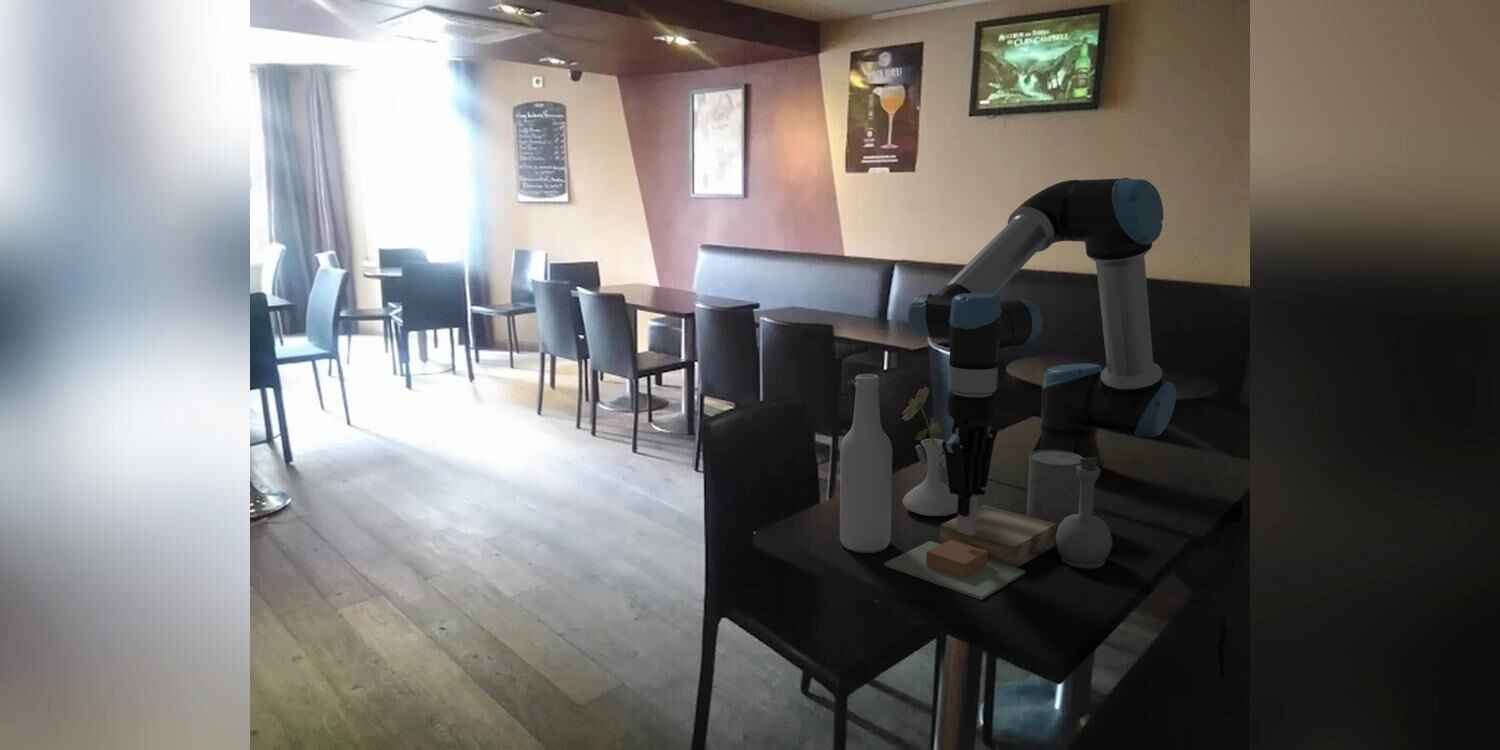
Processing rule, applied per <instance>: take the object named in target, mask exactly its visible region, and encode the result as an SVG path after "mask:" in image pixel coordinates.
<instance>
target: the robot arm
mask: <svg viewBox="0 0 1500 750" xmlns="http://www.w3.org/2000/svg"><path fill="white" fill-rule="evenodd" d="M1162 202H1163V201H1162V198H1161V194H1160V193H1159V191H1158V189H1157V188H1156V186H1154V185H1153V184H1152V183H1151V182H1150V181H1148V180H1147V179H1142V178H1130V177H1129V178H1128V177H1121V178H1101V179H1097V178H1096V179H1068V180H1065V181H1060V182H1057V183H1055V184H1053V185H1051V186H1048V187H1045V188H1044V189H1042V190H1040V191H1039V192H1037V193H1036V194H1034V195H1032V196H1031V197H1029V198H1028V199H1026V200H1025V201H1023V203H1022V204H1020V205H1019V206H1018V207H1016V209H1014V211H1013V212H1012V213H1011V214H1010V215H1009V217H1008V220H1007V225H1006V226H1005V227H1004V228H1003V229H1001V231H999V232H998V233H997V235H995V237H994V238H992V239H991V240H990V241H989V242H988V243H987V244H986V246H984V247H983V248H982V249H981V250H980V251H979V252H978V253H977V254H976V255H975V256H974V257H973V258H971V260H970V261H969V262H968V263H967V264H966V265H965V266H963V268H962V269H960V271H958V273H957V274H956V275H955V276H953V277H952V278H951V280H949V281H948V282H947V283H946V284H945V285H944V286H943V287H942V288H941V289H940V290H939V291H938V292H937V293H935V294H933V293H927V294H919V295H916V296H915V297H914V298H913V299H912V301H911V302H910V305H909V307H908V312H907V321H908V323H909V328H910V330H911V331H912V332H913V333H914V334H915V335H917V336H921V337H925V338H930V339H932V340H935V339H936V340H944V341H949V359H948V382H947V383H948V384H947V386H948V387H947V388H948V389H949V390H950V391H949V392H948V393H947V404H946V405H947V407H946V412H947V414H948V416H949V417H951V418H952V419H953V423H952V428H951V436H950V438H949V439H948V440H947V439H942V440H943V442H942V447H943V452H944V456H945V463H946V465H945V466H947V480H948V481H947V482H948V487H949V491H950V493H951V494H955V495H957V496H958V512H957V517H958V520H957V532H960V533H964V534H967V535H970V536H972V535H974V534H976V532H977V508H978V507H979V505H978V504H979V495H981V496H984V495H985V493H986V490H985V489H986V487H987V485H988V480H989V474H990V468H991V461H992V455H993V450H994V449H993V448H994V443H995V440H996V439H997V438H996V437H997V436H998V435H997V434H998V428H994V427H992V426H990V419H993V418H995V416H996V414H997V395H996V394H995V393H994V392H996V391H998V371H999V369H998V367H999V365H998V364H999V351H1000V350H1005V349H1009V348H1015V347H1021V346H1022V347H1023V346H1024V345H1026V344H1028V343H1031V342H1033V341H1035V340H1036V339H1037V338H1038V337H1039V335H1040V333H1041V331H1042V329H1043V325H1044V324H1043V315H1042V312H1041V311H1040V309H1039V307H1038V306H1037V305H1036V304H1035V303H1034V302H1032V301H1031V300H1028V299H1027V300H1026V299H1016V298H1015V299H1013V298H1012V299H1011V300H1001V299H1000V297H999V296H998V295H997V293H999V292H1000V291H1001V289H1003V287H1004V286H1005V285H1006V284H1007V283H1008V282H1009V281H1010V280H1011V279H1012V278H1013V277H1014V276H1015V275H1016V274H1017V273H1018V272H1019V271H1020V270H1021V269H1022V268H1023V267H1024V265H1026V264H1027V263H1028V262H1029V261H1030V260H1031V259H1032V257H1033V256H1035V255H1036V254H1037V253H1039V252H1043V251H1045V250H1048V249H1049V248H1050V246H1051V245H1053V244H1055V243H1059V242H1083V243H1084V244H1085V251H1086V252H1085V253H1086V256H1087V258H1089V259H1091V260H1092V261H1094V262H1095V266H1096V276H1097V286H1098V295H1099V305H1100V313H1101V314H1100V315H1101V322H1102V323H1101V324H1102V331H1103V341H1104V350H1105V357H1106V358H1105V359H1106V360H1105V361H1106V367H1104V369H1103V368H1102V366H1101V365H1100V364H1098V363H1097V364H1096V363H1069V364H1068V363H1067V364H1062V365H1061V364H1059V365H1055V366H1051V367H1049V368H1047V369H1046V371H1045V372H1044V374H1043V382H1042V386H1041V389H1042V394H1041V395H1042V398H1041V419H1040V433H1039V435H1038V438H1037V440H1036V442H1035V446H1034V447H1033V450H1032V452H1034V451H1038V450H1061V451H1067V452H1072V453H1075V454H1078V455H1080V456H1082V457H1083V458H1092V457H1097V462H1096V467H1098V468H1100V469H1101V471H1100V475H1101V474H1103V472H1104V464H1105V463H1104V457H1103V454H1102V451H1101V447H1100V443H1099V440H1098V429H1104V430H1107V431H1108V430H1109V431H1112V432H1113V431H1114V432H1119V433H1124V434H1130V435H1134V436H1135V437H1139V436H1141V437H1147V438H1148V437H1149V438H1155V437H1157V436H1159V435H1161V434H1162V433H1163V432H1164V431H1165V429H1166V428H1167V426H1168V424H1169V423H1170V421H1171V418H1172V417H1173V416H1172V415H1173V413H1174V409H1175V405H1176V399H1177V388H1176V386H1175V385H1174V383H1173V382H1170V381H1168V380H1166V381H1164V378H1163V369H1162V368H1161V367H1160V366H1159V365H1158V364H1157V363H1155V362H1154V358H1153V357H1154V356H1153V346H1152V345H1153V344H1152V335H1151V333H1152V332H1151V320H1150V308H1149V307H1150V306H1149V298H1148V296H1149V295H1148V283H1147V272H1146V260H1145V255H1146V254H1148V253H1149V251H1151V249H1152V248H1153V243H1155V242H1156V241H1157V240H1158V238H1159V237H1160V236H1161V233H1162V230H1163V221H1164V206H1163V203H1162ZM982 488H984V489H982Z"/></svg>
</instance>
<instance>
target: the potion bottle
mask: <svg viewBox="0 0 1500 750" xmlns="http://www.w3.org/2000/svg"><path fill="white" fill-rule="evenodd" d="M1096 462H1097V457H1092V458H1084V459H1080V466H1076V469H1077V477H1078V478H1079V480H1080V481H1081V483H1080V499H1079V514H1073V515H1070V516H1067V517H1065V518H1064V520H1063V521H1062V522H1061V523H1060V525H1059V527H1058V530H1056V533H1055V543H1056V547H1057V551H1058V554H1059V555H1060V559H1061V562H1062V563H1065V564H1067V566H1070V567H1073V568H1080V569H1085V570H1091V569H1097V568H1099V569H1100V568H1102V566H1104V564H1105V562H1106V560H1107V558H1108V557H1109V556H1110V552H1111V550H1112V547H1113V537H1112V534H1111V530H1110V529H1109V527H1108V525H1107V524H1106V522H1105V521H1104V520H1102V518H1100V517H1099V516H1093V514H1094V512H1093V511H1094V499H1095V485H1096V484H1095V483H1096V482H1097V480H1098V479H1099V478H1100V475H1101V474H1100V471H1101V469H1100V468H1098V467H1096Z"/></svg>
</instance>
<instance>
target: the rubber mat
mask: <svg viewBox="0 0 1500 750" xmlns="http://www.w3.org/2000/svg"><path fill="white" fill-rule="evenodd" d="M939 545H941V544H940V543H938V542H936V541H932V540H929V541H926V542H925V543H923V544H921V545H918V546H917V547H915V548H913V549H910V550H908V551H906V552H904V553H902V554H900V555H898V556H896V557H894V558H892V559H889V560H887V561H885V562H884V566H885V567H887V568H891V569H893V570H895V571H899V572H902V573H904V574H907V575H910V576H912V577H916V578H918V579H921V580H924V581H927V582H929V583H932V584H936V585H938V586H941V587H943V588H946V589H950V590H952V591H955V592H958V593H960V594H963V595H966V596H969V597H972V598H973V599H974V598H975V599H977V600H980V601H982V600H984V599H985V598H988V597H989V596H991V595H992V594H993V593H996V592H997V591H999V590H1001V589H1002V588H1004V587H1006V586H1007V585H1009V584H1011V583H1012V582H1014V581H1016V580H1017V579H1018V578H1020V577H1022V576H1023V575H1026V571H1025V570H1023V569H1020V568H1019V567H1018V568H1014V567H1011V566H1008V565H1005V564H1002V563H999V562H995V561H992V560H989V559H988V563H987V566H986V567H984V568H982V569H981V570H979V571H977V572H975V573H973V574H972V575H970V576H968V577H966V578H965V579H962V578H959V577H956V576H954V575H951V574H948V573H945V572H942V571H939V570H936V569H933V568H930V567H927V566H926V557H927V551H929V550H931V549H933V548H935V547H937V546H939ZM1008 583H1009V584H1008Z"/></svg>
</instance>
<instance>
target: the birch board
mask: <svg viewBox="0 0 1500 750" xmlns="http://www.w3.org/2000/svg"><path fill="white" fill-rule="evenodd" d="M957 520H958V516H956V517H954V518H951V519H949V520H947V521H946V522H944V523H941V524H940V528H939V531H940V532H939V544H943V543H945V542H947V541H949V540H953V541H956V542H960V543H963V544H966V545H969V546H973V547H976V548H979V549H982V550H986V551H988V559H989V560H992V561H995V562H999V563H1002V564H1005V565H1008V566H1011V567H1014V568H1017V567H1018V568H1019V566H1020V567H1022V564H1023V565H1024V563H1025V564H1026V563H1028V562H1029V561H1031V560H1034V559H1035V558H1037V557H1038V556H1040V555H1041V554H1043V553H1045V552H1046V551H1048V550H1050V549H1052V548H1054V547H1055V546H1056V533H1057V530H1056V524H1055V523H1051V522H1047V521H1044V520H1040V519H1036V518H1032V517H1029V516H1026V515H1024V514H1022V513H1021V514H1020V513H1018V512H1013V511H1010V510H1005V509H1002V508H999V507H998V508H997V507H995V506H991V505H988V504H982V505H980V506H979V505H978V508H977V532H976V534H974V535H972V536H970V535H967V534H964V533H960V532H957Z"/></svg>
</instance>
